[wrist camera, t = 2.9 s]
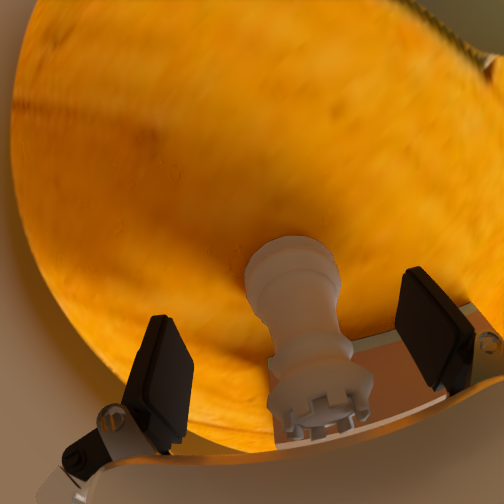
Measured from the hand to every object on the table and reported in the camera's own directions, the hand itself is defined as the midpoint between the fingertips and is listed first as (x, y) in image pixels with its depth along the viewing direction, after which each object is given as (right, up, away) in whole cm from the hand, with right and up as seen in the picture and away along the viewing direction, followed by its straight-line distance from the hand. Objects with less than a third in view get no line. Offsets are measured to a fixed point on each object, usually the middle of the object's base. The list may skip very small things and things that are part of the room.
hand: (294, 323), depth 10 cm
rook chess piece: (0, +2, +3) cm, 4 cm away
